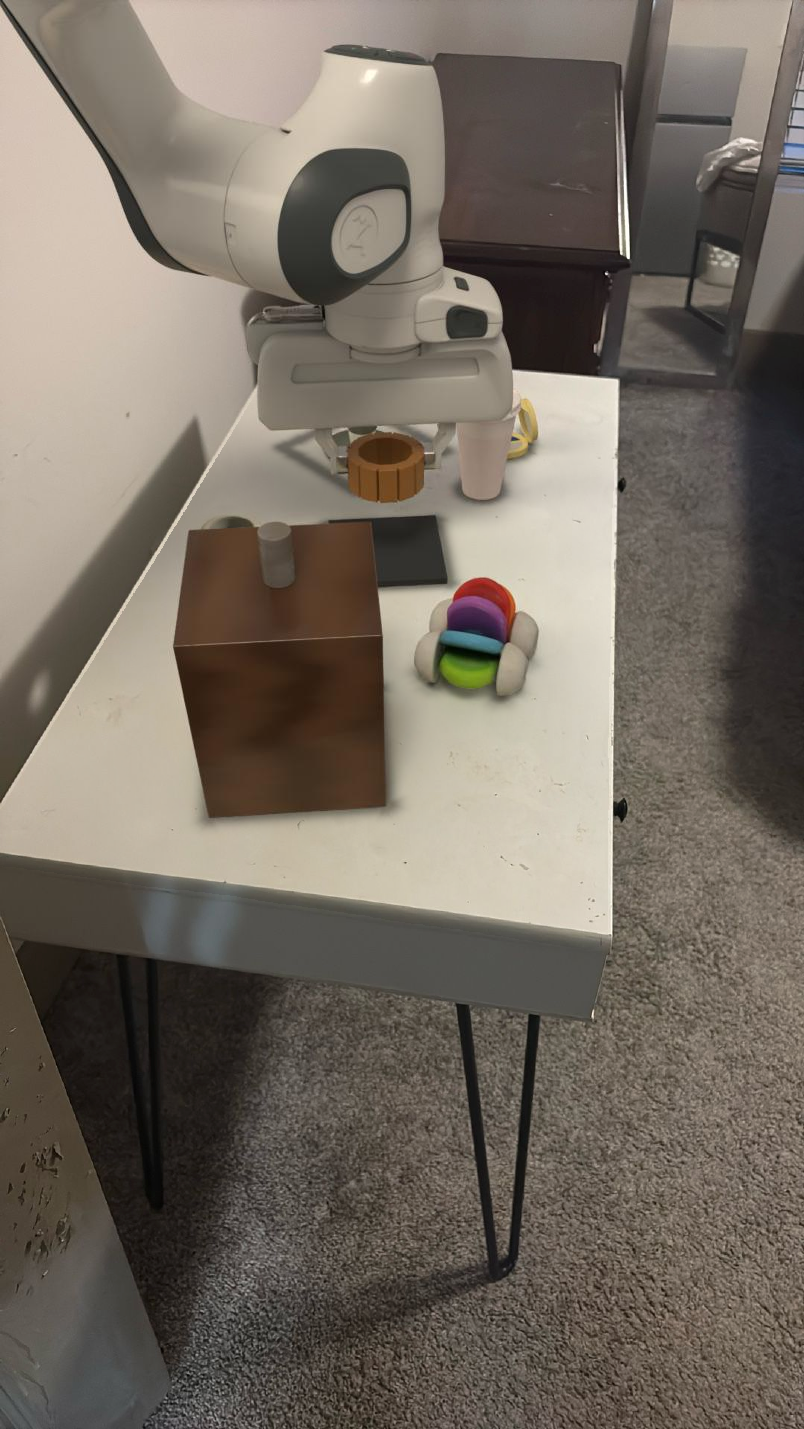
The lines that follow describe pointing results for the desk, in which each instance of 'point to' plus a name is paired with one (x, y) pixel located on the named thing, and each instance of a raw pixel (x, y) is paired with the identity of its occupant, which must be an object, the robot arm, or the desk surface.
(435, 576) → the mat
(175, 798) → the desk surface
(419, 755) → the desk surface
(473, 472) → the smoothie
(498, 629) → the rainbow disc roller toy
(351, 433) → the coffee cup
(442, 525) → the desk surface
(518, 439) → the eyeshadow
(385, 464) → the grooved wooden ring
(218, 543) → the tape stand
